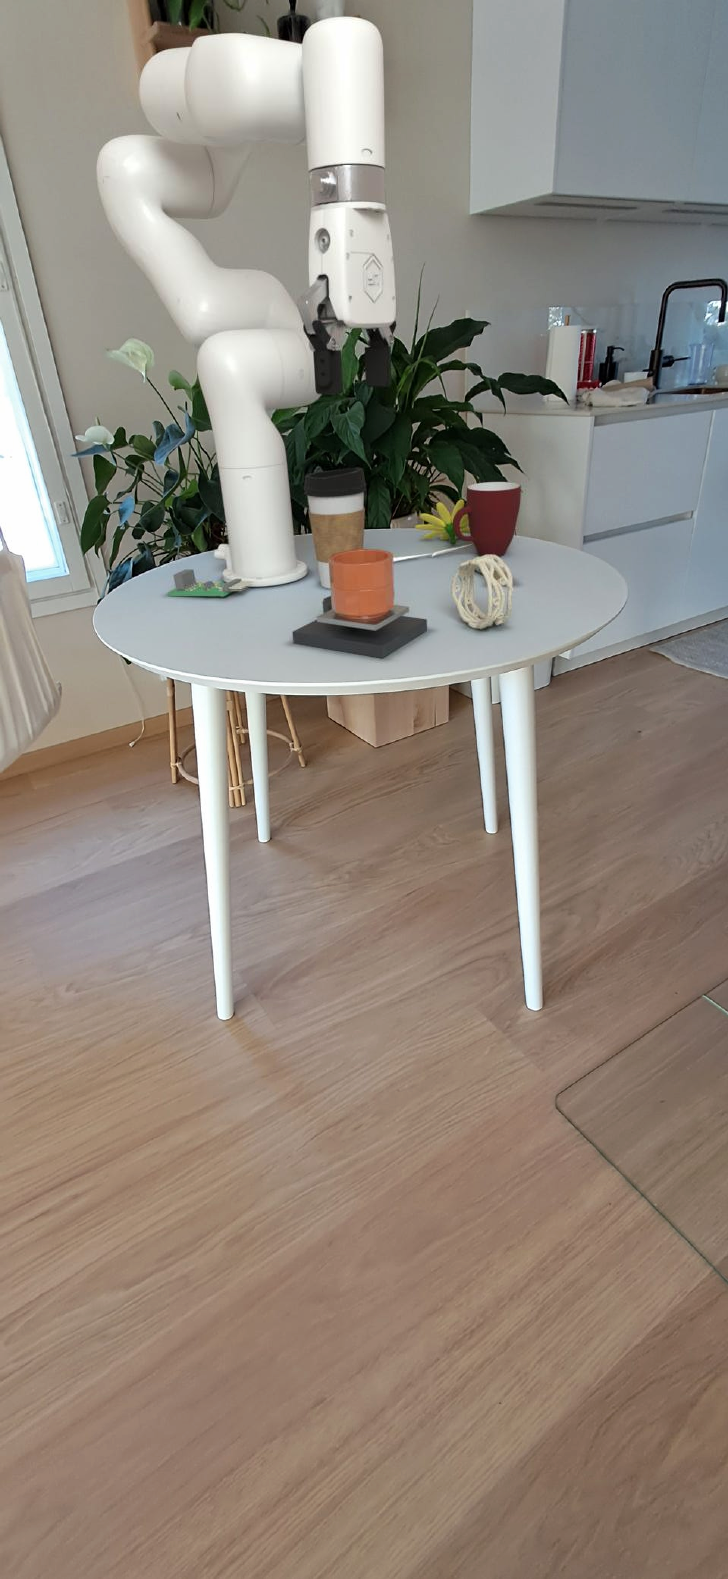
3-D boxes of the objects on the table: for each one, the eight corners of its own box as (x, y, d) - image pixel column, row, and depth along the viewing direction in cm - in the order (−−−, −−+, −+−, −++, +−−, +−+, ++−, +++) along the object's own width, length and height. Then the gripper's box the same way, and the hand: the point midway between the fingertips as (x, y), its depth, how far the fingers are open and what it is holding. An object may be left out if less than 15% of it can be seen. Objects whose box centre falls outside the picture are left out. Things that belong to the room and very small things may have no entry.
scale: (287, 642, 87) (284, 616, 86) (341, 614, 95) (340, 590, 94) (382, 658, 81) (381, 631, 80) (432, 627, 89) (432, 602, 88)
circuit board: (254, 567, 106) (236, 576, 102) (257, 589, 107) (240, 599, 103) (183, 567, 110) (164, 576, 106) (188, 589, 112) (169, 599, 108)
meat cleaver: (526, 578, 103) (495, 584, 102) (526, 587, 104) (494, 592, 102) (481, 555, 112) (452, 560, 111) (481, 563, 113) (451, 568, 111)
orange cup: (320, 617, 83) (316, 561, 80) (354, 600, 88) (351, 547, 85) (373, 624, 80) (370, 567, 77) (405, 606, 85) (404, 551, 82)
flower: (439, 492, 118) (501, 511, 123) (402, 532, 128) (461, 548, 133) (442, 515, 117) (504, 533, 122) (403, 553, 126) (463, 569, 132)
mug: (470, 566, 113) (471, 495, 108) (442, 555, 119) (442, 488, 114) (528, 555, 117) (532, 486, 112) (498, 546, 123) (500, 480, 118)
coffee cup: (364, 592, 104) (358, 474, 96) (305, 591, 105) (294, 476, 98) (376, 575, 111) (371, 465, 103) (320, 575, 113) (311, 466, 105)
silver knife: (481, 543, 123) (371, 563, 118) (481, 537, 122) (370, 556, 118) (493, 550, 120) (380, 570, 115) (493, 544, 119) (379, 563, 115)
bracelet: (473, 615, 93) (474, 548, 89) (517, 631, 87) (520, 560, 83) (446, 621, 91) (447, 553, 87) (489, 638, 85) (491, 566, 81)
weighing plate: (316, 622, 84) (316, 616, 83) (352, 604, 89) (352, 599, 88) (375, 630, 80) (375, 625, 80) (409, 611, 85) (409, 606, 85)
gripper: (327, 181, 67) (337, 397, 76) (423, 200, 80) (422, 384, 88) (262, 191, 71) (279, 396, 80) (364, 207, 83) (368, 384, 92)
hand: (354, 390), depth 84 cm, fingers open, 9 cm apart
